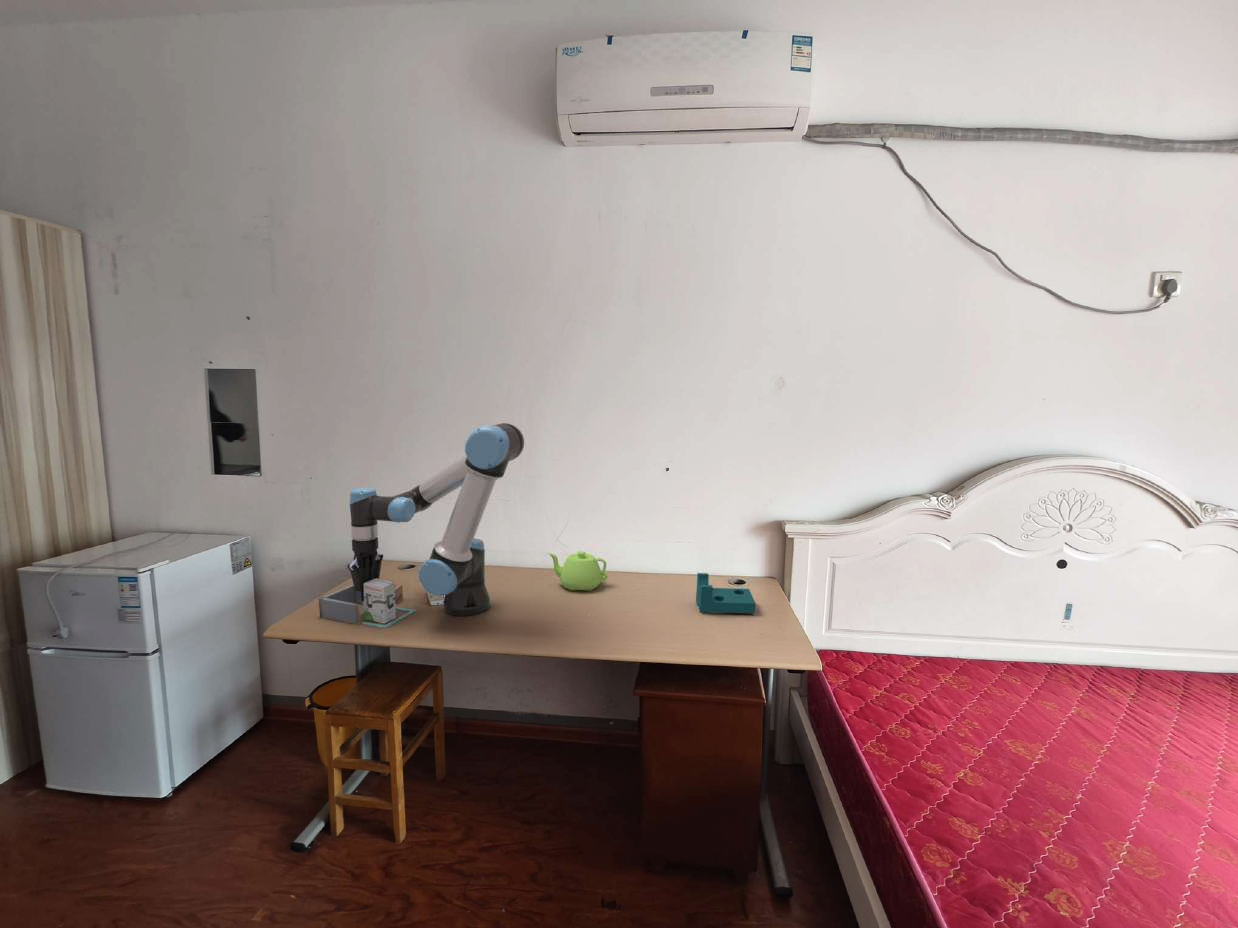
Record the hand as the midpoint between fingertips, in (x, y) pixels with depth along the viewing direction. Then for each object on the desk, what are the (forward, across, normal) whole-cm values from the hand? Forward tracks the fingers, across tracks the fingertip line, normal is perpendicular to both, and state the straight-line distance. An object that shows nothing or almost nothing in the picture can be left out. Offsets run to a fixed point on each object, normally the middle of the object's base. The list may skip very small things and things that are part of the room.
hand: (368, 609), depth 180 cm
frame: (+2, 0, +8) cm, 8 cm away
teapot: (+2, -49, +51) cm, 71 cm away
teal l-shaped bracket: (+2, -49, +105) cm, 116 cm away
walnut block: (+2, -12, -1) cm, 12 cm away
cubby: (+2, 0, -5) cm, 5 cm away
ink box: (+2, +1, +6) cm, 6 cm away
